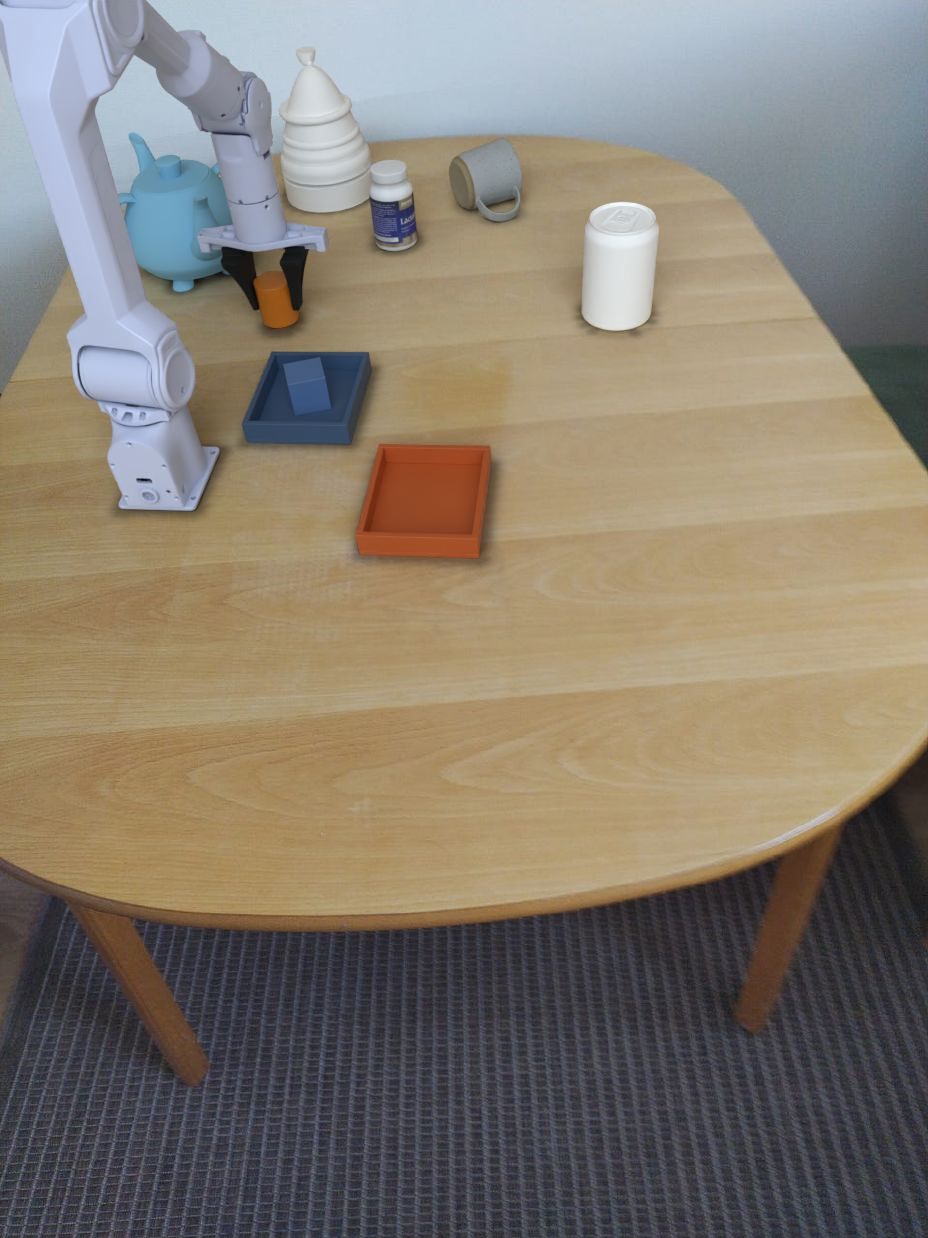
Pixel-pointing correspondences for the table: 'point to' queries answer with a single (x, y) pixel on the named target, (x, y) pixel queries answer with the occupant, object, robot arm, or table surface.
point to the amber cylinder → (274, 299)
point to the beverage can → (619, 265)
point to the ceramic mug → (487, 178)
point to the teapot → (174, 215)
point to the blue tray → (278, 423)
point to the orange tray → (425, 501)
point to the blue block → (307, 386)
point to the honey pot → (322, 144)
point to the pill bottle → (392, 206)
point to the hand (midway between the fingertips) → (278, 305)
